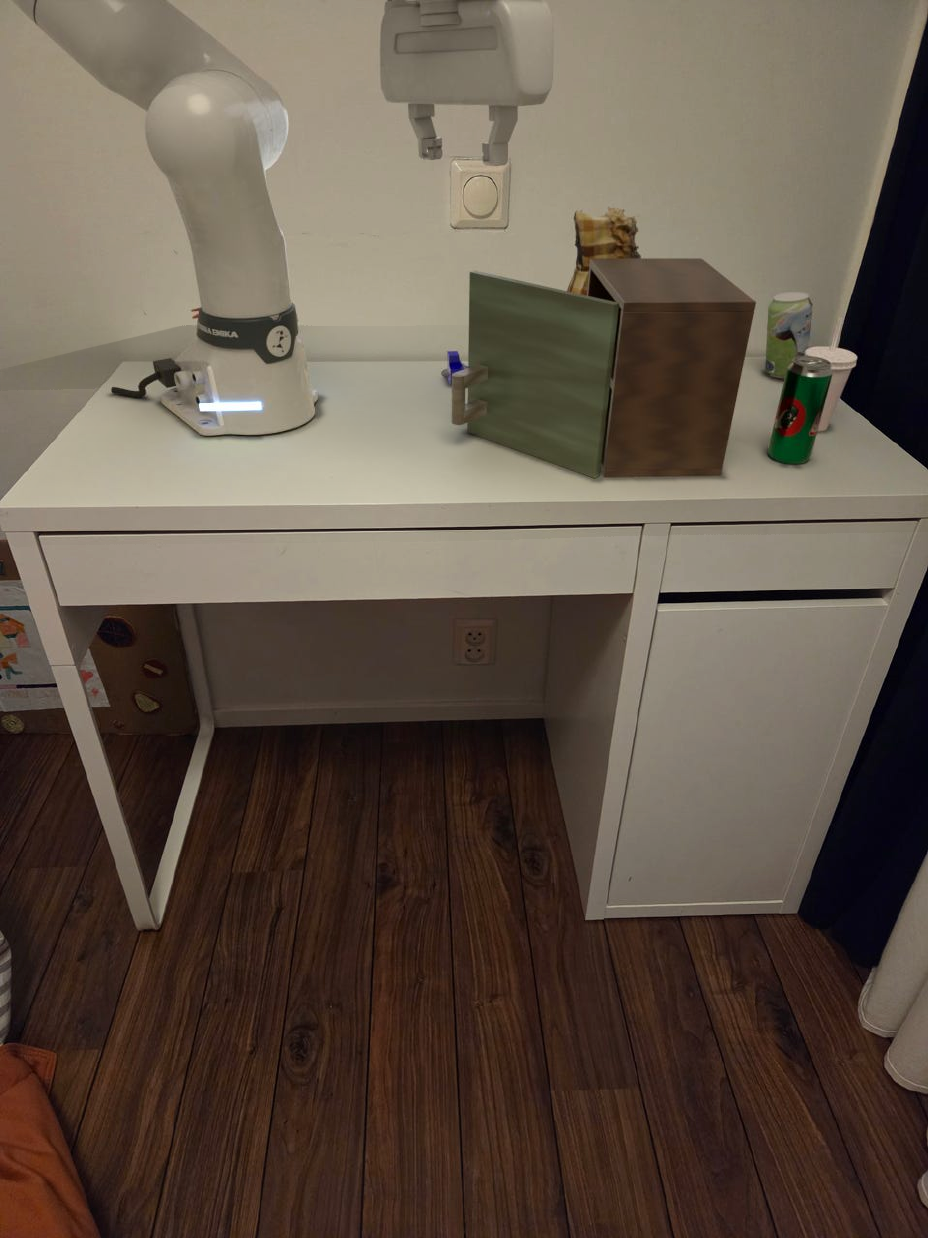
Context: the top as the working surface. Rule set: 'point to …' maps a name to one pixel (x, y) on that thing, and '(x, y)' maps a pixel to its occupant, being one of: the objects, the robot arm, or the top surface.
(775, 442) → the soda can
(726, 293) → the cupboard
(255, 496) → the top surface
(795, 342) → the beverage can
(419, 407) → the top surface
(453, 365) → the cable holder
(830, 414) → the smoothie
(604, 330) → the door
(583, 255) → the plaid cloth bag
